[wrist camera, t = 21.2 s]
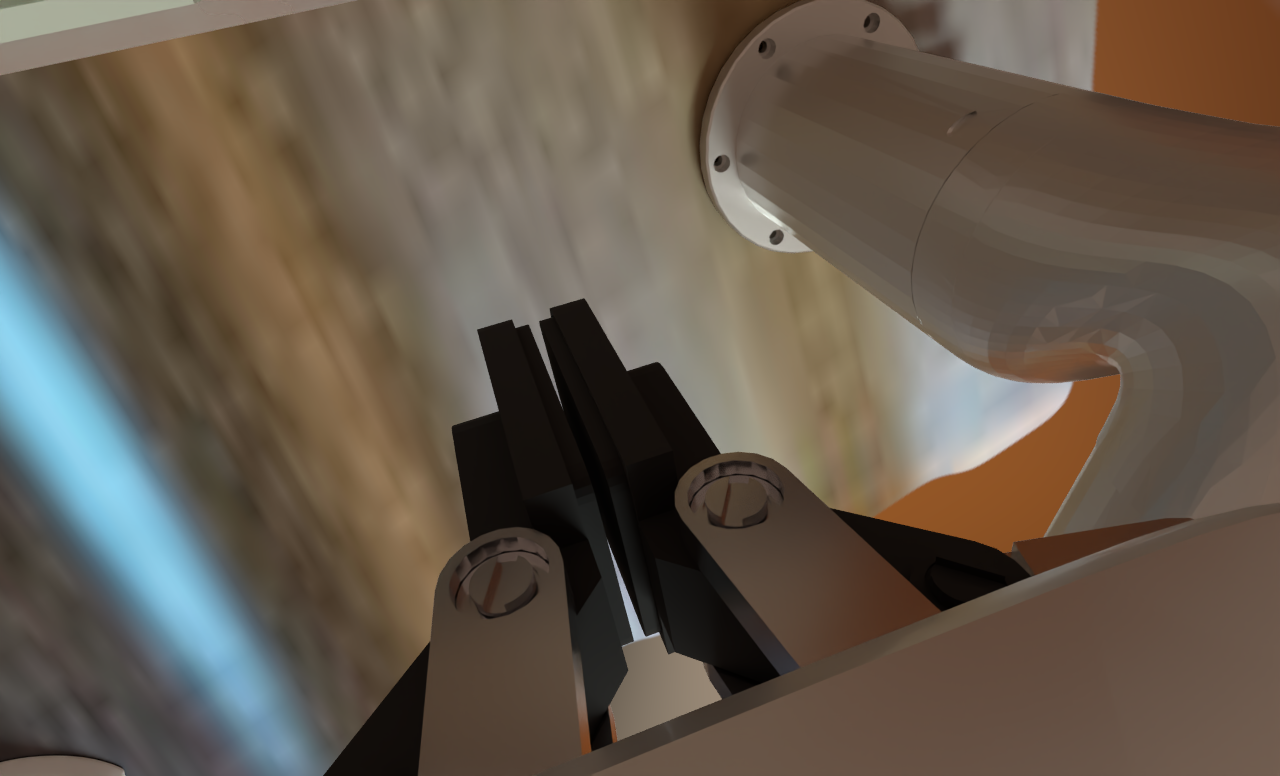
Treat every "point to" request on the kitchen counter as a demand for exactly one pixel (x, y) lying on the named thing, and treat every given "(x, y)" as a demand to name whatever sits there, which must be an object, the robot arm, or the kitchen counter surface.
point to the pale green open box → (70, 14)
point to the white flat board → (144, 30)
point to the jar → (58, 767)
